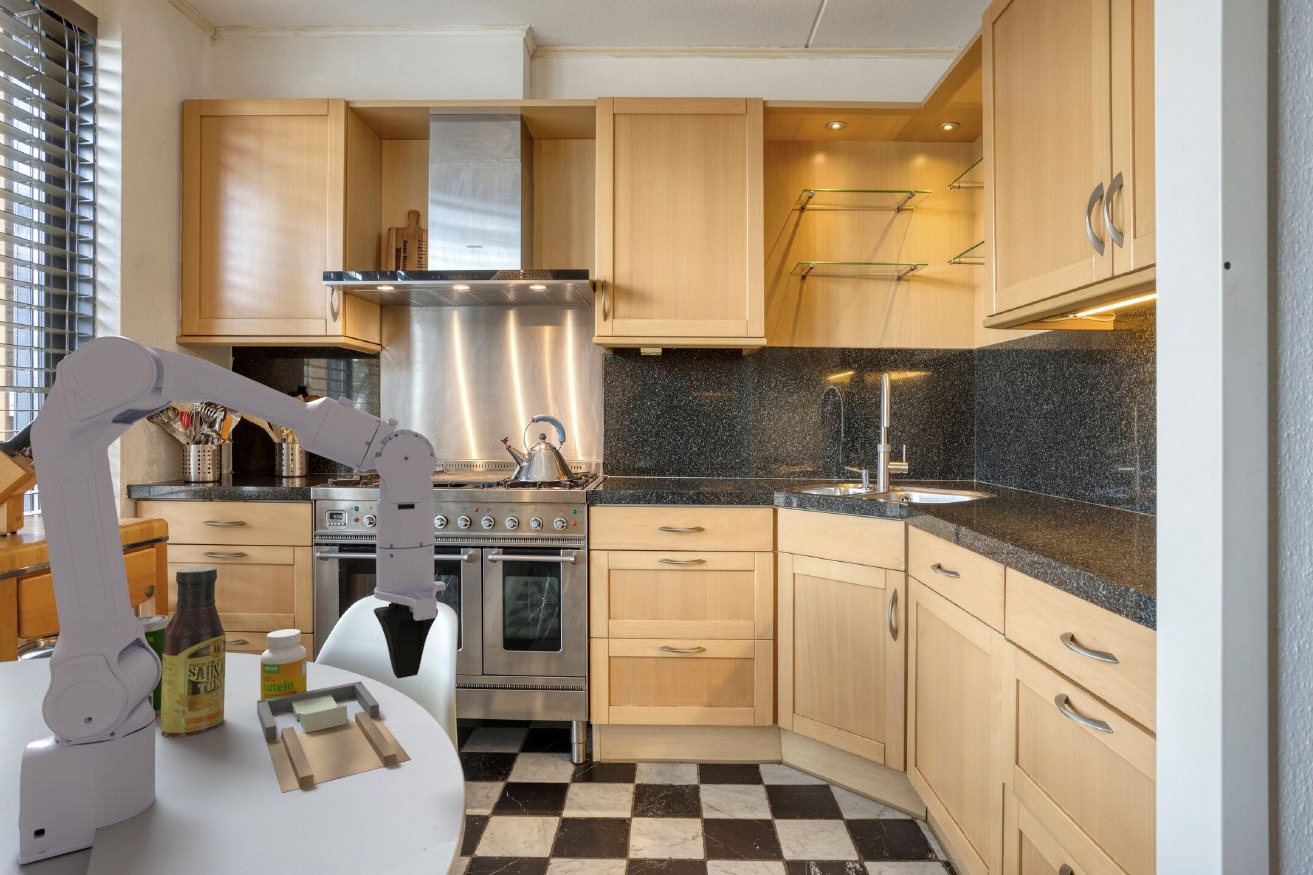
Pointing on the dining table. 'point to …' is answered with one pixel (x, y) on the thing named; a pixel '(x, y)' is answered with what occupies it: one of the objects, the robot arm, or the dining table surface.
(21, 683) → the dining table surface
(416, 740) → the dining table surface
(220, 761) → the dining table surface
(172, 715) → the sauce bottle
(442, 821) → the dining table surface
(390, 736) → the board
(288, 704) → the box
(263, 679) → the supplement bottle
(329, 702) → the tile far
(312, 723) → the tile near
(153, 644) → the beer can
